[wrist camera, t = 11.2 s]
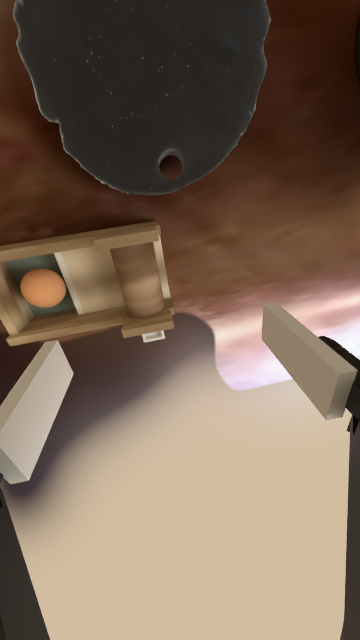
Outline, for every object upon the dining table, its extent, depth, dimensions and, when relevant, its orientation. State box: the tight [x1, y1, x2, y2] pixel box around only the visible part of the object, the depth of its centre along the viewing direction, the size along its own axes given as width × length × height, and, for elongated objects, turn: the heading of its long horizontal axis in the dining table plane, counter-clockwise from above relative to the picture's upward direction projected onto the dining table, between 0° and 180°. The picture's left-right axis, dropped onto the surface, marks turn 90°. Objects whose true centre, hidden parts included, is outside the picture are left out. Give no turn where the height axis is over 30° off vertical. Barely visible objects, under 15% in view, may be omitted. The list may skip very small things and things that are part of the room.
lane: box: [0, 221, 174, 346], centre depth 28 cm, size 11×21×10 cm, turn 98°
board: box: [13, 0, 271, 195], centre depth 22 cm, size 22×22×5 cm
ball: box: [21, 268, 66, 308], centre depth 29 cm, size 5×5×5 cm
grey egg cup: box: [142, 331, 165, 342], centre depth 35 cm, size 3×3×4 cm
